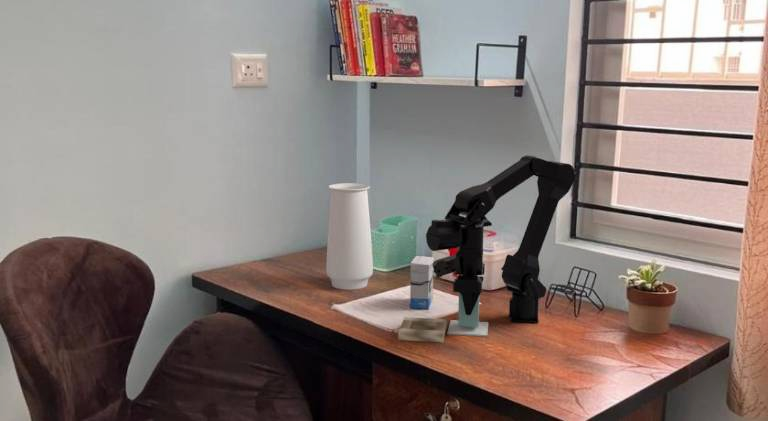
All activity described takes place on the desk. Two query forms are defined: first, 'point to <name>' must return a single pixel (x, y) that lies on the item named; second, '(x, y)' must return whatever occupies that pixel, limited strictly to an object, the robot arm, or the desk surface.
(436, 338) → the birch holder
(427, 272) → the ink box
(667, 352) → the desk surface
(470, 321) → the teal block
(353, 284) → the vase
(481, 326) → the grey coaster
